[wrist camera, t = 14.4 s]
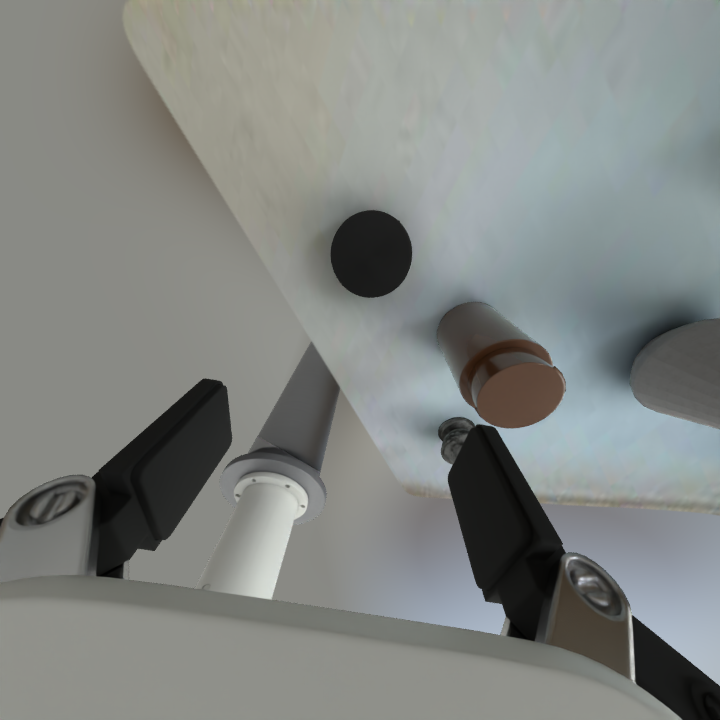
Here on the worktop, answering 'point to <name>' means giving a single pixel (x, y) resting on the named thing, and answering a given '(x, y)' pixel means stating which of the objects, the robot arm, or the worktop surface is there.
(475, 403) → the jar
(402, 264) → the jar lid
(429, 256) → the worktop surface
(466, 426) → the grey stepped cylinder
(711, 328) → the coffee pot
